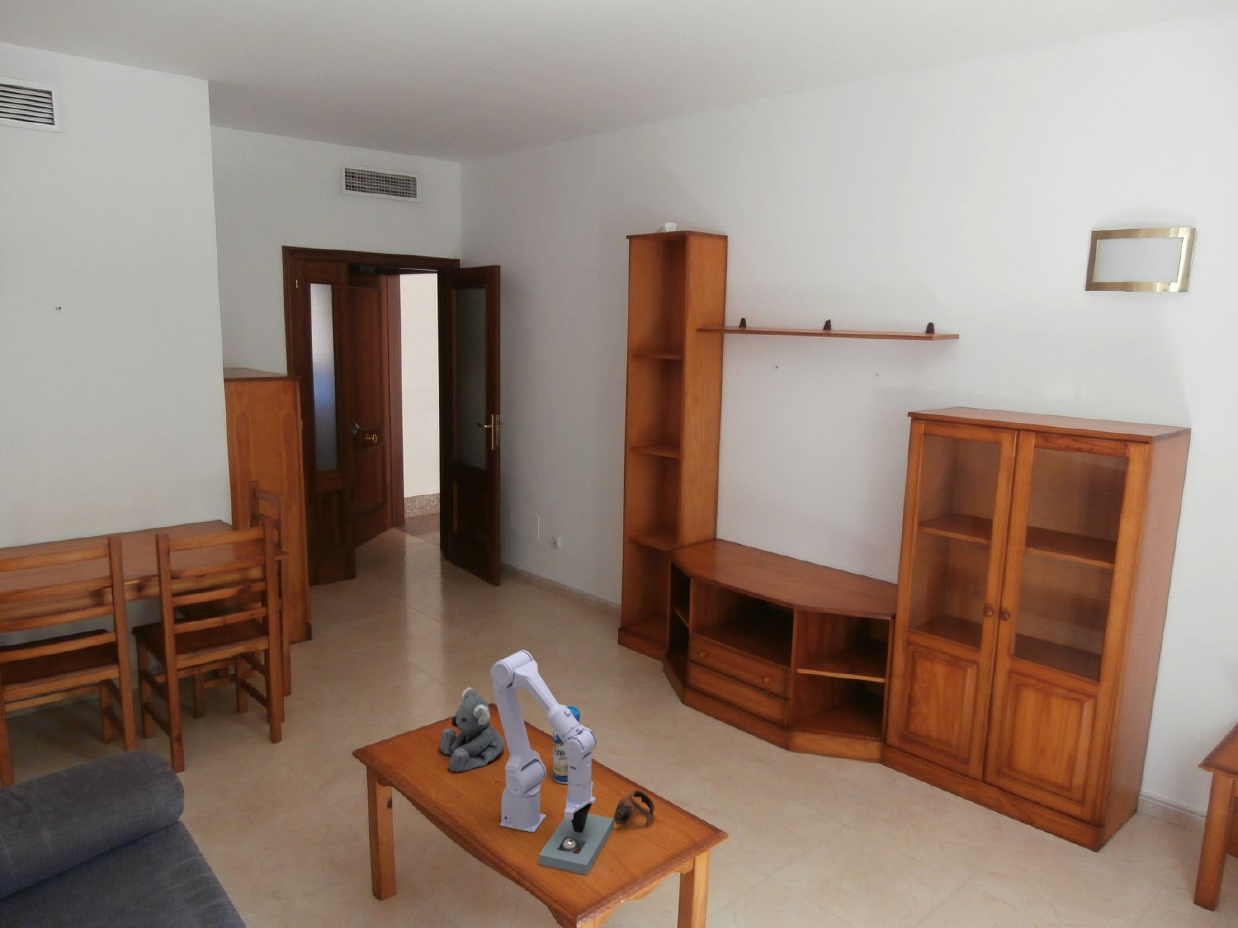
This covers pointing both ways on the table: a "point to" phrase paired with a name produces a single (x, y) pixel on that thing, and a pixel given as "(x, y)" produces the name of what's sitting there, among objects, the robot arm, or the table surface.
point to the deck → (587, 841)
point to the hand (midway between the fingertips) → (578, 830)
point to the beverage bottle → (562, 753)
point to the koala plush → (471, 735)
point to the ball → (569, 845)
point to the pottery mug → (628, 803)
